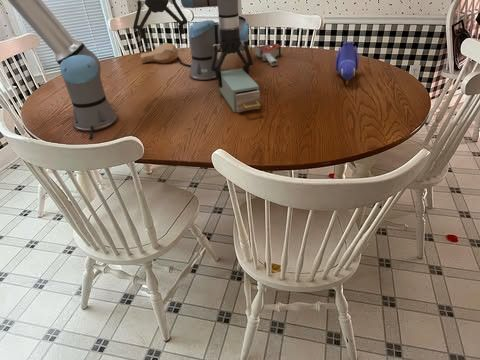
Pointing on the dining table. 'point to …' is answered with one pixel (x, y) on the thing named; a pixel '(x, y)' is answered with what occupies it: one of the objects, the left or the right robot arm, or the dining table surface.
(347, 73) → the toy
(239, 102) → the drawer
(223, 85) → the cabinet
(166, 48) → the squash
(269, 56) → the tape dispenser
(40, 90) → the dining table surface
